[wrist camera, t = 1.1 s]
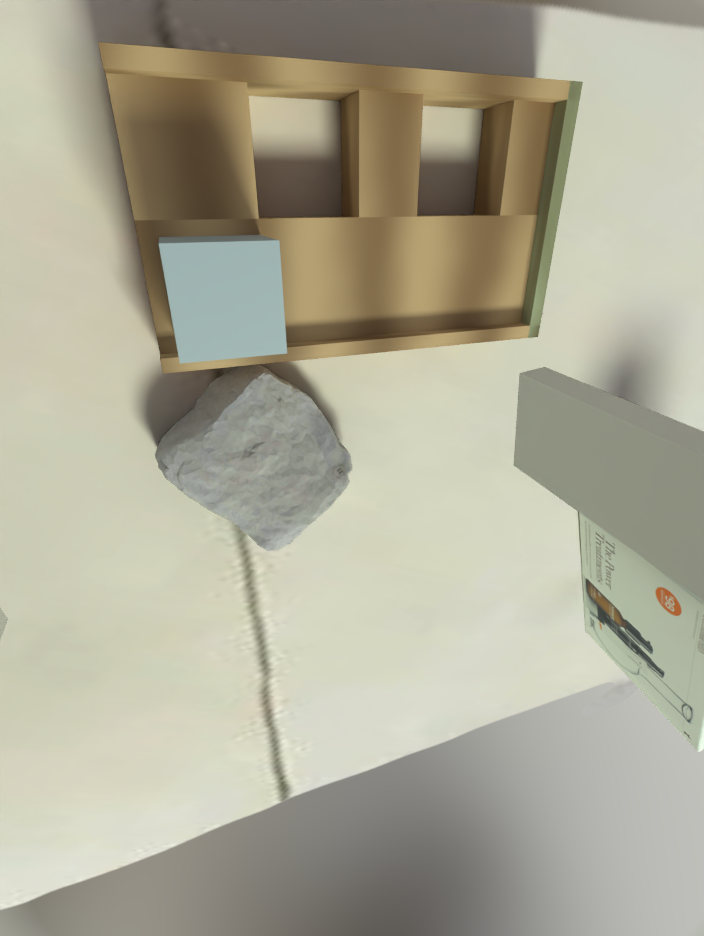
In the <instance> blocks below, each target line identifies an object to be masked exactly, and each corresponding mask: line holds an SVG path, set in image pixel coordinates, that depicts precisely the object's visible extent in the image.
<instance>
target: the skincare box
mask: <svg viewBox="0 0 704 936" xmlns="http://www.w3.org/2000/svg"><path fill="white" fill-rule="evenodd" d="M579 520H580V539H581V557H582V578H583V594H584V612H585V631H586V633H588V634H589V635H590V636H591V637H592V639H593V640H594V641H595V642H596V643H597V644H598V645H599V646H600V647H601V648H602V649H603V650H604V651H605V653H606V654H607V655H608V656H609V657H610V658H611V659H612V660H613V661H614V662H615V663H616V664H617V665H618V667H619V668H620V669H621V670H622V671H623V672H624V673H625V674H626V675H627V676H628V677H629V678H630V679H631V680H632V681H633V683H634V684H635V685H636V686H637V687H638V688H639V689H640V690H641V691H642V692H643V693H644V694H645V696H646V697H648V699H649V700H650V701H651V702H652V703H653V704H654V705H655V706H656V707H657V708H658V709H659V711H660V712H661V713H662V714H663V715H664V716H665V717H666V718H667V719H668V720H669V721H670V722H671V723H672V724H673V726H674V727H675V728H676V729H677V730H678V731H679V732H680V733H681V734H682V735H683V736H684V737H685V738H686V740H687V741H688V742H689V743H690V744H691V745H692V746H693V747H694V748H695V749H696V750H697V751H698V752H700V751H701V750H703V749H704V601H703V600H701V599H700V598H698V597H697V596H696V595H694V594H693V593H691V592H690V591H689V590H687V589H686V588H684V587H683V586H682V585H680V584H679V583H677V582H676V581H675V580H673V579H672V578H670V577H669V576H668V575H666V574H665V573H664V572H662V571H661V570H659V569H658V568H657V567H655V566H654V565H652V564H651V563H650V562H648V561H647V560H645V559H644V558H643V557H641V556H640V555H638V554H637V553H636V552H634V551H633V550H631V549H630V548H629V547H627V546H626V545H624V544H623V543H622V542H620V541H619V540H617V539H616V538H615V537H613V536H612V535H610V534H609V533H608V532H606V531H605V530H603V529H602V528H601V527H599V526H598V525H596V524H595V523H594V522H592V521H591V520H590V519H588V518H587V517H585V516H584V515H583V514H581V513H580V512H579Z"/></svg>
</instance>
